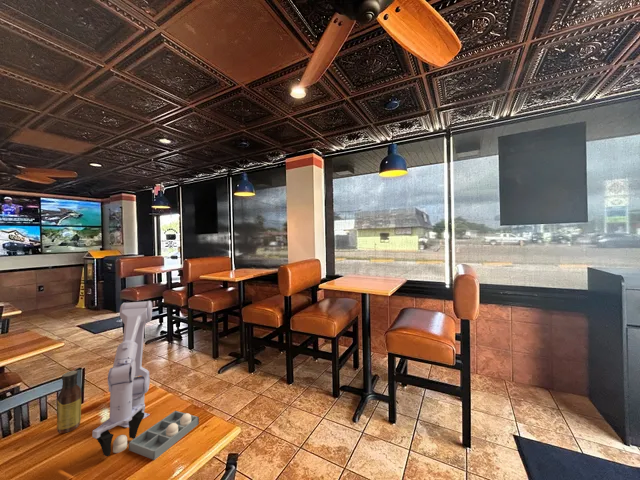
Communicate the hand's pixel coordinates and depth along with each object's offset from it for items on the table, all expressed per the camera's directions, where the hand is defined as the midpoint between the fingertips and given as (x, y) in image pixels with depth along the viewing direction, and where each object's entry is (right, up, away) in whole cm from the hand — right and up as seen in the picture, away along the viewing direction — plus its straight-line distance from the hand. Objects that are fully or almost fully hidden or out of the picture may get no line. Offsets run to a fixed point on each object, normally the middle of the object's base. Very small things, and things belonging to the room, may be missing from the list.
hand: (120, 445), depth 81 cm
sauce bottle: (-27, -2, +10) cm, 29 cm away
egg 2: (+14, -1, +4) cm, 15 cm away
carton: (+11, -2, +5) cm, 13 cm away
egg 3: (+16, -1, +10) cm, 19 cm away
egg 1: (0, -2, 0) cm, 2 cm away
